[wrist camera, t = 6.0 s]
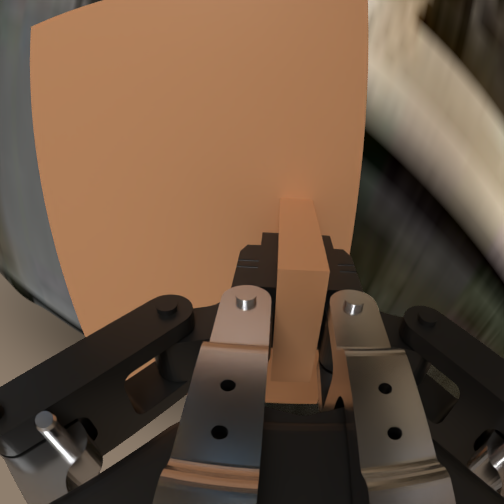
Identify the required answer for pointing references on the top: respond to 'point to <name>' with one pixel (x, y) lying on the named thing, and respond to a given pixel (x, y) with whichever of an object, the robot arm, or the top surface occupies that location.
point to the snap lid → (202, 154)
